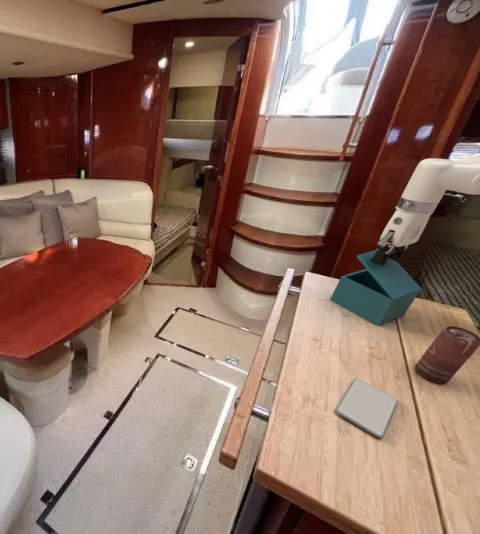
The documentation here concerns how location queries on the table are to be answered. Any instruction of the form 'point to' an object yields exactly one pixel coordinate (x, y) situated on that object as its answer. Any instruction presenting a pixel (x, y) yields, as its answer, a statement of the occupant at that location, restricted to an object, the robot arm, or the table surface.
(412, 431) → the table surface
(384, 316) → the box
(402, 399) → the table surface
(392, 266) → the cooler lid
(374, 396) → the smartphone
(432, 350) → the can
